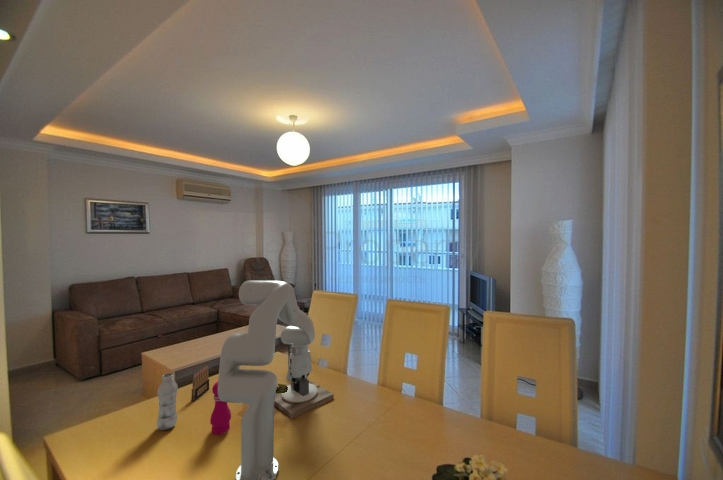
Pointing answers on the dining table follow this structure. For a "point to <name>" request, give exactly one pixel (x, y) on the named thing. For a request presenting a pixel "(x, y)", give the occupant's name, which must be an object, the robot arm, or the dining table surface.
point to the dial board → (302, 407)
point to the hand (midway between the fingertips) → (299, 389)
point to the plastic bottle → (167, 403)
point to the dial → (300, 391)
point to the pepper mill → (220, 414)
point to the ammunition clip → (200, 384)
